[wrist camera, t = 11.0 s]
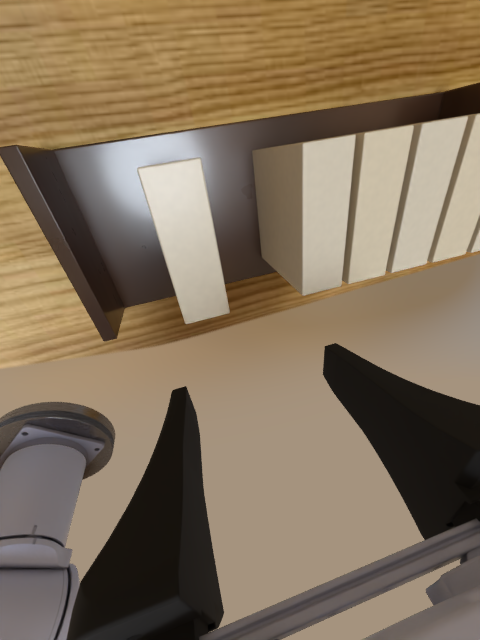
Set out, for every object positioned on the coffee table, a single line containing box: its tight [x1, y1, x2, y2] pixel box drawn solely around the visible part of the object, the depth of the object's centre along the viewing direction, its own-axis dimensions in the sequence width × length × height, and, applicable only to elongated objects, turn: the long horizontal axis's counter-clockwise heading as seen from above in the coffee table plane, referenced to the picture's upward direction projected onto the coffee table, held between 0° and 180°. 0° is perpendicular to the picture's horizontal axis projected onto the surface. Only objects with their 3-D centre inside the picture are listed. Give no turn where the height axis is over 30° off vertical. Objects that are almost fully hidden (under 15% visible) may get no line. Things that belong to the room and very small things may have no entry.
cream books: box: [252, 113, 480, 296], centre depth 16 cm, size 14×7×7 cm, turn 98°
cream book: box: [137, 158, 230, 324], centre depth 14 cm, size 2×7×7 cm, turn 8°
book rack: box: [0, 83, 480, 341], centre depth 17 cm, size 26×10×5 cm, turn 98°
